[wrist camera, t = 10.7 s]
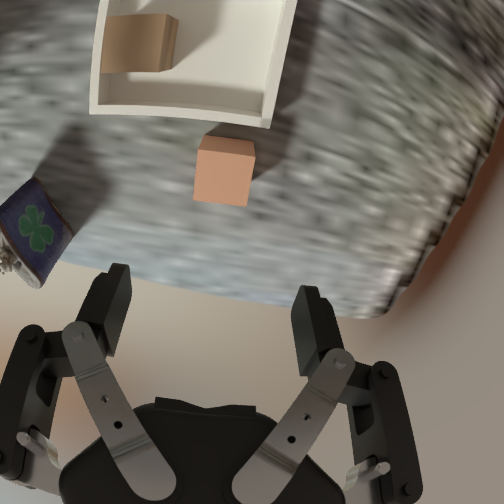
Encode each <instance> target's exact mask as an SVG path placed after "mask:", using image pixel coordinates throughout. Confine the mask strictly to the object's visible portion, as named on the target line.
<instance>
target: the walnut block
mask: <svg viewBox="0 0 504 504" xmlns="http://www.w3.org/2000/svg"><path fill="white" fill-rule="evenodd" d="M178 23H179V20H177V19H176V18H174V17H172V16H170V15H168V14H137V15H122V16H111V17H107V19H106V26H105V33H104V42H103V51H102V62H101V73H120V72H162V71H166V70H171V69H172V63H173V56H174V49H175V42H176V35H177V29H178Z"/></svg>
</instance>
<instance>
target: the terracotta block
mask: <svg viewBox="0 0 504 504" xmlns="http://www.w3.org/2000/svg"><path fill="white" fill-rule="evenodd" d="M255 158H256V156H255V150H254V143H253V141H247V140H240V139H233V138H225V137H217V136H209V135H204V136H203V139H202V141H201V144H200V146H199V149H198V155H197V165H196V174H195V185H194V195H193V200H197V201H206V202H214V203H222V204H230V205H238V206H246V205H247V199H248V194H249V189H250V184H251V178H252V173H253V168H254V163H255Z"/></svg>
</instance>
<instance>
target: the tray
mask: <svg viewBox="0 0 504 504" xmlns="http://www.w3.org/2000/svg"><path fill="white" fill-rule="evenodd" d="M296 4H297V0H100V4H99V10H98V16H97V23H96V30H95V37H94V46H93V55H92V66H91V81H90V104H89V114H126V115H151V116H167V117H180V118H192V119H202V120H211V121H219V122H227V123H235V124H242V125H248V126H255V127H261V128H267V129H270V125H271V120H272V116H273V111H274V106H275V102H276V97H277V92H278V87H279V83H280V78H281V73H282V69H283V64H284V59H285V55H286V50H287V45H288V41H289V36H290V31H291V27H292V22H293V18H294V13H295V9H296ZM137 14H168V15H170V16H172V17H174V18H176V19H177V20H179V23H178V29H177V35H176V42H175V49H174V56H173V63H172V69H171V70H166V71H162V72H120V73H101V62H102V51H103V42H104V33H105V26H106V19H107V17H111V16H122V15H137Z"/></svg>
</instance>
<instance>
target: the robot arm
mask: <svg viewBox="0 0 504 504" xmlns="http://www.w3.org/2000/svg"><path fill="white" fill-rule="evenodd" d="M131 296H132V286H131V277H130V268H129V265H126V264H119V263H113V264H112V265H111V267H110V269H109V271H108V273H103V272H102V273H100V274H99V275H98V276H97V277H96V278H95V279H94V281H93V283H92V285H91V287H90V289H89V291H88V293H87V296H86V298H85V300H84V302H83V304H82V307H81V309H80V311H79V313H78V316H77V318H76V320H75V322H72V323H70V324H68V325H67V326H66V327H65V328H64V330H62V331H57V332H44V330H43V328H42V327H40V326H39V325H34V324H33V325H28V326H26V327H24V328H23V329H22V330H21V332H20V333H19V335H18V337H17V340H16V342H15V345H14V348H13V350H12V353H11V355H10V358H9V361H8V363H7V366H6V369H5V372H4V374H3V378H2V380H1V383H0V476H2V477H3V478H5V479H6V480H9V481H11V482H13V483H15V484H18V485H20V486H25V487H27V488H30V489H40V490H43V491H46V492H49V493H52V494H55V495H58V496H61V498H62V501H63V503H64V504H414V503H415V502H417V501H418V500H419V498H420V497H421V495H422V492H423V484H422V478H421V472H420V466H419V461H418V456H417V450H416V446H415V441H414V437H413V431H412V427H411V423H410V418H409V414H408V410H407V407H406V402H405V399H404V394H403V391H402V387H401V383H400V380H399V376H398V373H397V370H396V369H395V367H394V366H393V365H392V364H390V363H388V362H385V361H378V362H376V363H375V364H374V365H373V366H370V365H366V364H362V363H359V362H356V361H355V360H354V358H353V356H352V355H351V354H350V353H349V352H347V351H345V349H344V346H343V342H342V338H341V335H340V331H339V328H338V324H337V321H336V317H335V314H334V310H333V307H332V305H331V304H330V303H329V301H328V300H327V299H326V298H320V294H319V290H318V288H317V287H316V286H306V285H301V286H300V288H299V291H298V293H297V296H296V299H295V301H294V304H293V306H292V310H291V322H292V328H293V334H294V341H295V347H296V353H297V360H298V367H299V373H300V376H308V383H307V384H306V385H305V387H304V388H303V390H302V391H301V393H300V394H299V395H298V397H297V398H296V400H295V401H294V402H293V404H292V405H291V407H290V408H289V409H288V411H287V412H286V414H285V415H284V416H283V417H282V419H281V420H280V421H279V423H277V422H276V421H274V420H273V419H271V418H270V417H268V416H266V415H263V414H261V413H258V412H256V406H247V405H227V406H221V407H214V408H202V407H199V406H195V405H193V404H190V403H187V402H184V401H181V400H176V399H168V398H161V397H156V398H155V403H149V404H144V405H141V406H139V407H137V408H134V409H133V410H132V408H131V406H130V404H129V403H128V401H127V399H126V397H125V395H124V394H123V392H122V390H121V388H120V386H119V384H118V382H117V380H116V378H115V376H114V375H113V373H112V371H111V369H110V367H109V365H108V364H107V362H106V360H105V359H106V356H111V357H114V354H115V350H116V347H117V343H118V340H119V337H120V333H121V330H122V327H123V323H124V320H125V317H126V314H127V311H128V307H129V304H130V301H131ZM72 376H76V377H75V379H76V382H77V384H78V387H79V389H80V392H81V394H82V396H83V398H84V401H85V403H86V405H87V407H88V409H89V412H90V414H91V416H92V418H93V420H94V422H95V424H96V426H97V428H98V430H99V432H100V434H101V436H100V437H99V438H98V439H97V440H95V441H94V442H93V443H92V444H91V445H89V446H88V447H87V448H86V449H84V450H83V451H82V452H81V453H80V454H78V455H77V456H76V457H75V458H73V459H72V460H71V461H70V462H68V463H67V464H66V465H65V467H64V468H63V469H61V467H60V465H59V463H58V454H57V449H56V447H55V446H54V444H53V443H52V442H51V441H50V440H49V437H50V431H51V426H52V421H53V416H54V411H55V407H56V402H57V398H58V394H59V390H60V386H61V382H62V378H63V377H72ZM338 402H339V403H343V404H346V405H347V410H348V417H349V424H350V432H351V439H352V447H353V455H354V464H355V466H354V467H352V468H351V469H350V470H349V471H348V473H347V476H346V484H345V487H344V488H343V490H342V489H341V488H340V487H339V486H338V484H337V483H335V481H334V480H333V479H332V478H330V477H329V476H328V475H327V474H326V473H325V472H324V471H323V470H322V469H321V468H320V467H319V466H318V465H317V464H316V463H315V462H314V461H313V460H312V459H311V458H310V457H309V456H308V455H307V453H308V451H309V450H310V448H311V446H312V445H313V443H314V442H315V440H316V439H317V437H318V436H319V434H320V432H321V431H322V429H323V428H324V426H325V424H326V422H327V421H328V419H329V417H330V416H331V414H332V412H333V410H334V409H335V407H336V405H337V403H338Z"/></svg>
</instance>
